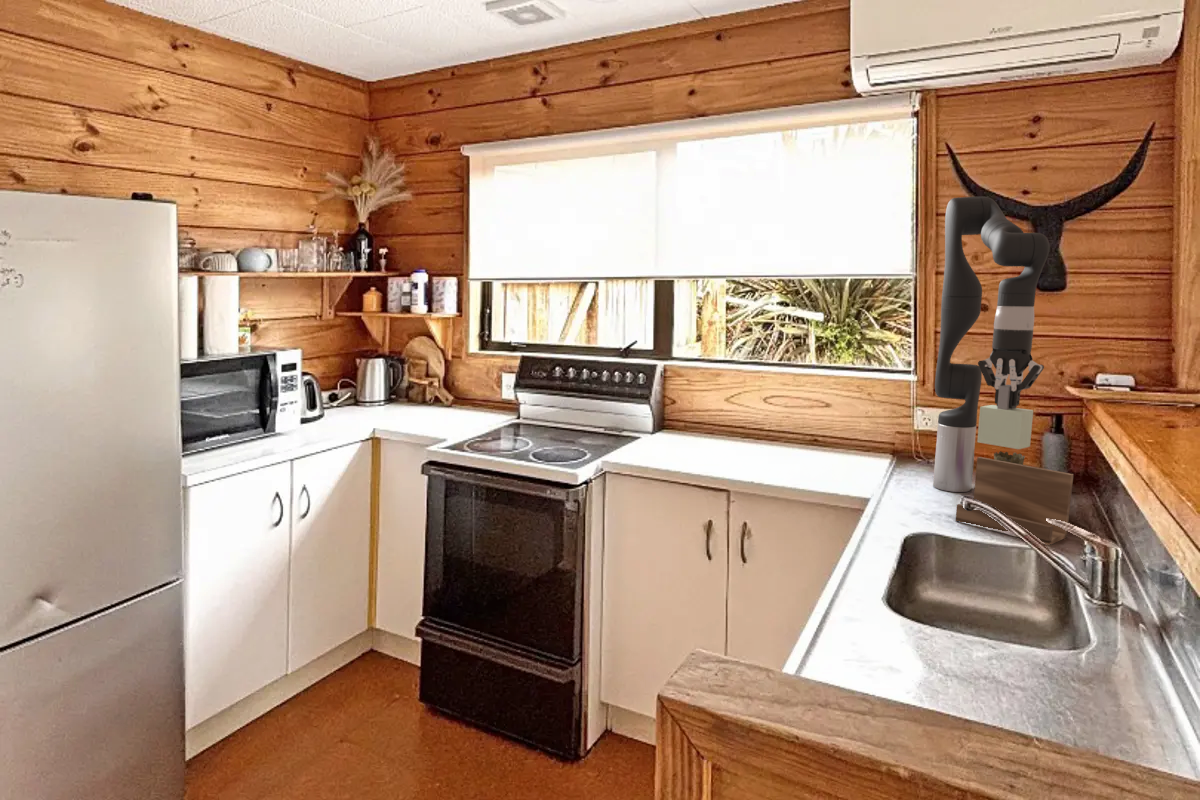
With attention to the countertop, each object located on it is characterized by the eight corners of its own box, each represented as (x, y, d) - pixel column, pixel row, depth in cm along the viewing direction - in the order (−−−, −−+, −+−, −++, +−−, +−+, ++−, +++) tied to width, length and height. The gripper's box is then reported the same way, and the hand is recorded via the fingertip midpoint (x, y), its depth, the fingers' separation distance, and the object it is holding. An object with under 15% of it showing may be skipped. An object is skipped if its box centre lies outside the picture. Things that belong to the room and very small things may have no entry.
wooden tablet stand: (974, 514, 181) (979, 456, 179) (1066, 537, 165) (1073, 474, 163) (955, 521, 176) (960, 462, 173) (1048, 545, 160) (1055, 480, 158)
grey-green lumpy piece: (989, 483, 210) (992, 454, 208) (993, 477, 216) (996, 449, 214) (1020, 487, 205) (1022, 458, 204) (1023, 481, 211) (1026, 453, 210)
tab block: (988, 439, 173) (993, 382, 171) (1030, 446, 166) (1035, 387, 164) (977, 442, 170) (982, 384, 169) (1018, 449, 163) (1024, 388, 161)
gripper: (1055, 328, 161) (1047, 410, 164) (990, 325, 172) (983, 402, 175) (1039, 329, 157) (1031, 413, 159) (973, 326, 168) (966, 404, 170)
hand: (1006, 406), depth 167 cm, fingers closed on tab block
